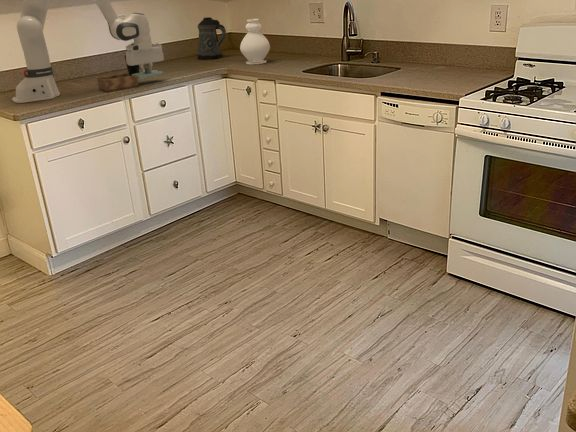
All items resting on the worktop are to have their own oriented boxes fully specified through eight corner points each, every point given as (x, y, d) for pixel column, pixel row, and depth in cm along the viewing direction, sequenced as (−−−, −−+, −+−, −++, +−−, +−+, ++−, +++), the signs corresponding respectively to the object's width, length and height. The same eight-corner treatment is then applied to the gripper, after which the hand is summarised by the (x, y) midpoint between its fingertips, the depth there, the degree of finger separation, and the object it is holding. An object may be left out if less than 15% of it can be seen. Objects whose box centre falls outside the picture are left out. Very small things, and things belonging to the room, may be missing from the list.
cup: (127, 78, 333) (123, 56, 328) (127, 76, 340) (124, 54, 335) (141, 77, 334) (138, 55, 329) (141, 75, 341) (138, 53, 336)
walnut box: (107, 92, 300) (105, 80, 297) (99, 89, 308) (97, 77, 305) (138, 86, 309) (136, 75, 307) (129, 84, 317) (127, 72, 315)
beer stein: (195, 57, 392) (190, 17, 382) (224, 54, 397) (220, 15, 386) (199, 61, 377) (195, 19, 367) (229, 58, 382) (225, 17, 372)
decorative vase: (270, 64, 352) (267, 20, 342) (240, 65, 352) (236, 21, 342) (271, 59, 368) (268, 17, 358) (242, 60, 369) (239, 18, 359)
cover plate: (139, 78, 309) (137, 70, 307) (132, 76, 315) (130, 68, 314) (163, 74, 317) (162, 66, 315) (156, 72, 323) (154, 64, 321)
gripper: (158, 42, 318) (162, 68, 323) (122, 47, 307) (127, 74, 312) (164, 43, 313) (167, 69, 319) (127, 48, 302) (132, 75, 307)
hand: (147, 71), depth 315 cm, fingers closed on cover plate, 2 cm apart
